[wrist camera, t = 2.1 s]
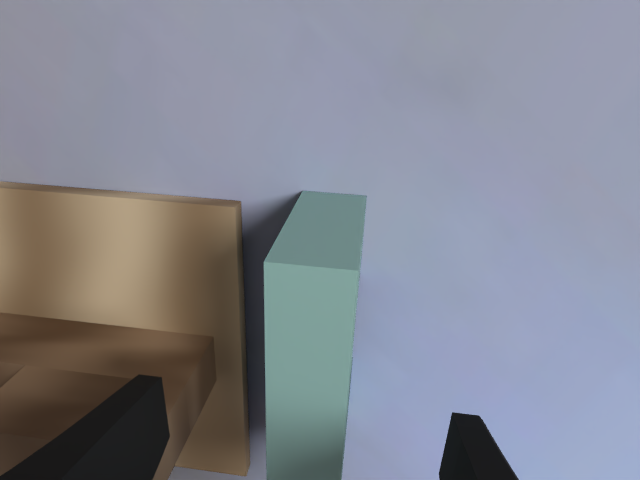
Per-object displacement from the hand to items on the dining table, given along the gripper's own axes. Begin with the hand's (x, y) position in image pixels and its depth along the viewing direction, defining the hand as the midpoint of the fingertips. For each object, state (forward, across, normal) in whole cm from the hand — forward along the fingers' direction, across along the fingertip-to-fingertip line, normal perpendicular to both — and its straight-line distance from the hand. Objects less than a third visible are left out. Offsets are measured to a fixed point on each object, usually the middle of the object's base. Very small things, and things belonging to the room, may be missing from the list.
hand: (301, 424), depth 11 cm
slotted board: (+5, +11, +2) cm, 12 cm away
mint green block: (+5, 0, 0) cm, 5 cm away
